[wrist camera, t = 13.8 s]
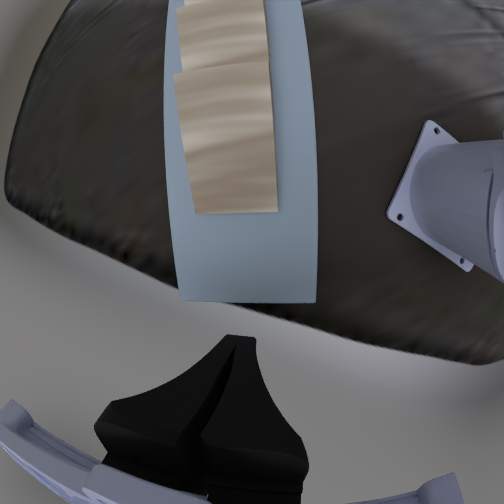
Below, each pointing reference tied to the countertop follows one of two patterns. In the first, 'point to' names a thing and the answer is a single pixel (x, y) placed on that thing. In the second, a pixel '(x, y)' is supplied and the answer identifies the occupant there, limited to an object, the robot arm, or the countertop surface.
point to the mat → (255, 223)
